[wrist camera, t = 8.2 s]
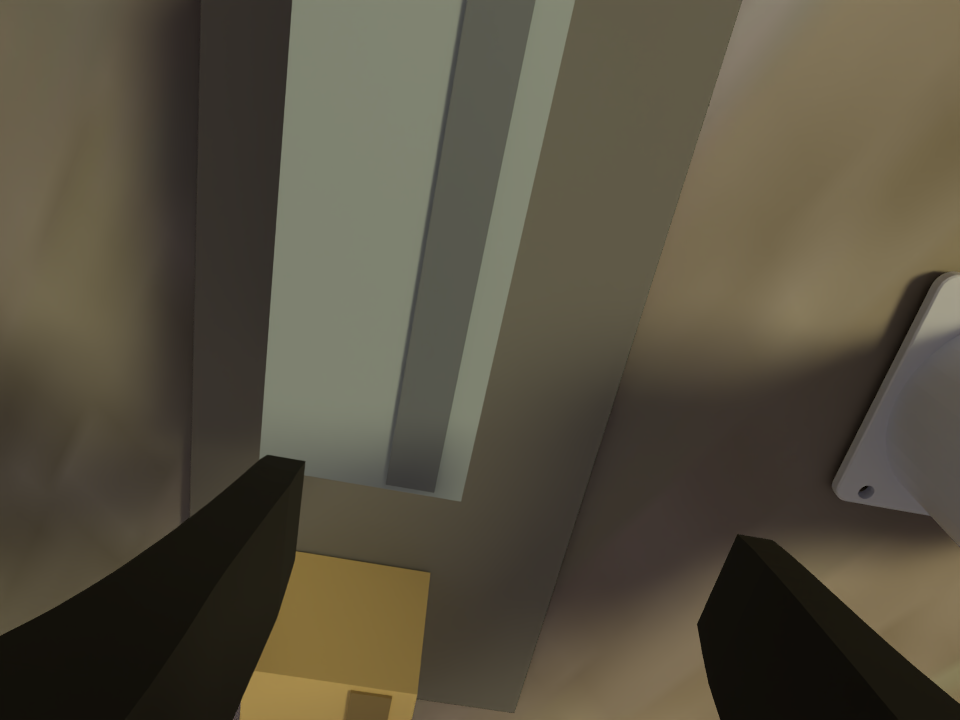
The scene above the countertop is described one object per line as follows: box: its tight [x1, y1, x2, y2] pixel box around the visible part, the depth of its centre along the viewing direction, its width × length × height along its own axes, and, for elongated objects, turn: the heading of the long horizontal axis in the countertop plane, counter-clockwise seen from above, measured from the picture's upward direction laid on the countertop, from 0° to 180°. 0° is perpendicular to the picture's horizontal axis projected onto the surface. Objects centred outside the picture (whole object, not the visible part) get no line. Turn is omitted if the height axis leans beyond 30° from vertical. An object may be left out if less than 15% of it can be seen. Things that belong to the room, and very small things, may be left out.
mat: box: [190, 0, 742, 713], centre depth 22 cm, size 13×26×1 cm, turn 169°
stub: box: [240, 551, 430, 720], centre depth 23 cm, size 5×6×5 cm
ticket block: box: [259, 0, 575, 502], centre depth 17 cm, size 5×12×5 cm, turn 169°
